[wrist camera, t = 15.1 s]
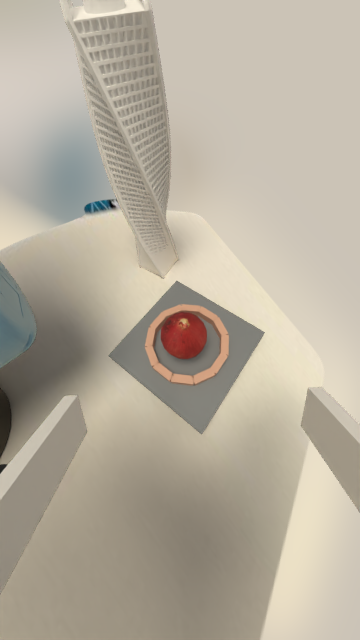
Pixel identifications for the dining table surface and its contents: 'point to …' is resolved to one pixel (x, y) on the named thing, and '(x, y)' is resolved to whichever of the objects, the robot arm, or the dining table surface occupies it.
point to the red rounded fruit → (183, 335)
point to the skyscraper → (128, 115)
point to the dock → (194, 373)
